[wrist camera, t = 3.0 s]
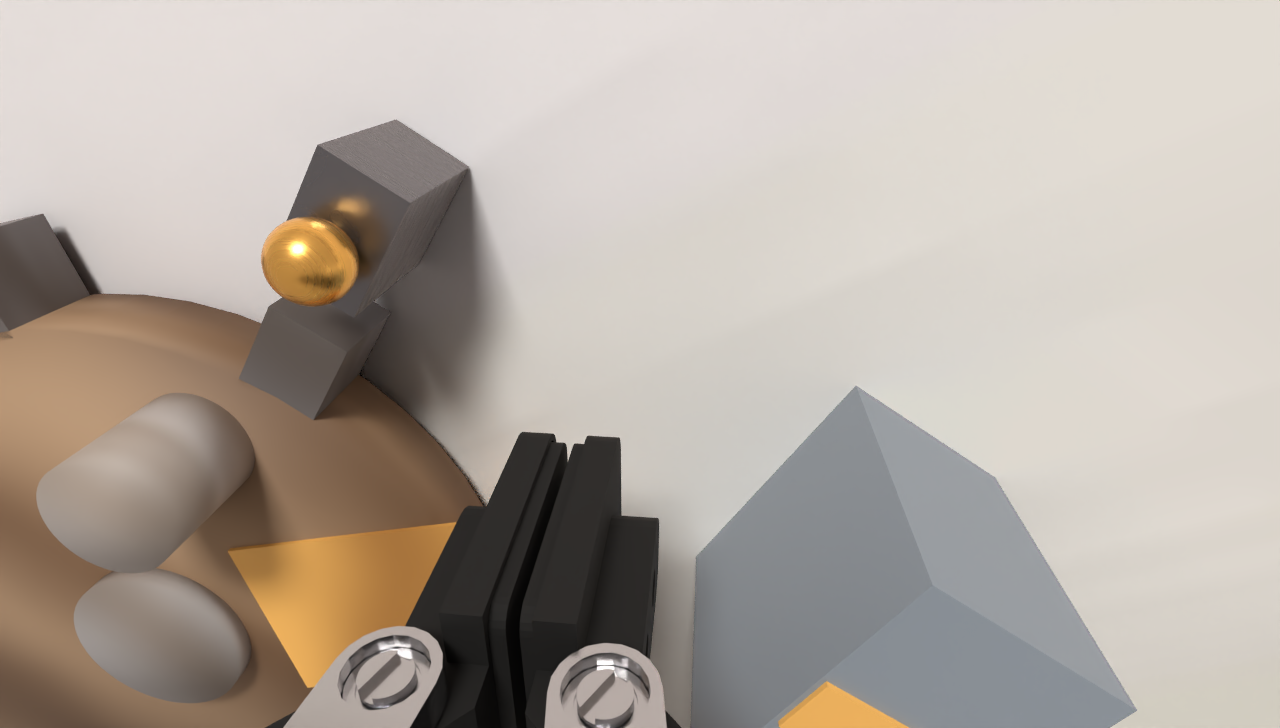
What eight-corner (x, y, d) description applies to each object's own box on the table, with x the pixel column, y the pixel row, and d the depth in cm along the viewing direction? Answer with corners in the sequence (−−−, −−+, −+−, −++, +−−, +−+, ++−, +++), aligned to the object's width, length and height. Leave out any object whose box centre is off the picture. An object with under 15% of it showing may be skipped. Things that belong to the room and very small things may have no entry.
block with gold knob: (419, 263, 15) (315, 349, 11) (350, 221, 14) (220, 294, 11) (469, 166, 14) (374, 225, 10) (396, 120, 14) (270, 160, 10)
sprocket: (401, 871, 25) (341, 1036, 21) (-172, 615, 21) (-377, 753, 17) (732, 516, 17) (739, 675, 13) (-113, 11, 13) (-475, 8, 9)
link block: (821, 628, 18) (867, 885, 13) (696, 555, 18) (688, 795, 12) (994, 475, 16) (1140, 716, 10) (855, 384, 15) (934, 590, 10)
